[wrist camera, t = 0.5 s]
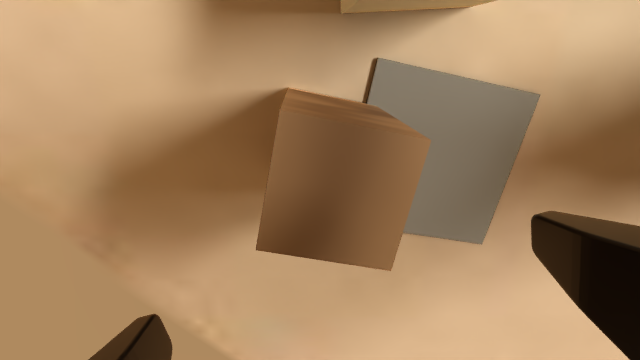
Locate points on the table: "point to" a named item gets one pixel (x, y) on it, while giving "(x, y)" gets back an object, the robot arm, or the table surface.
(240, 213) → the table surface
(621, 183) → the table surface
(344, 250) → the walnut block
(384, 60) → the felt pad
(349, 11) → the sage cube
